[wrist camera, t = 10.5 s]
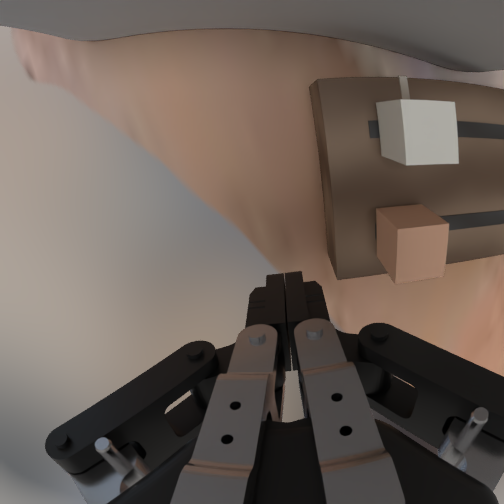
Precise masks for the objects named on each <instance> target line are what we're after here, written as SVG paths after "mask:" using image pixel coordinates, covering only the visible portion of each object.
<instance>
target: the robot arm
mask: <svg viewBox="0 0 504 504" xmlns="http://www.w3.org/2000/svg"><path fill="white" fill-rule="evenodd" d="M285 285H286V288H285ZM290 347H291V352H290ZM291 355H292V364H293V370H298V376H299V388H300V394H301V400H302V406H303V412H304V419H301V420H297V421H293V422H289V423H285V422H282V415H283V405H284V393H285V383H284V382H285V378H286V377H285V371H291ZM393 375H395V376H397V377H399V378H400V379H402V380H404V381H406V382H408V383H410V384H411V385H413V386H414V387H415V388H414V387H412V386H410V385H409V384H407V383H405V382H403V381H401V380H400V379H398V378H396V377H394V376H393ZM189 390H190V392H191V395H190V396H189V397H187V398H186V399H185V400H183V401H182V402H181V403H179V404H178V405H177V406H176V407H174V408H173V409H171V410H170V411H169V412H167V413H166V414H165V410H166V409H167V407H168V406H169V405H170V404H172V403H173V402H174V401H176V400H177V399H178V398H180V397H181V396H182V395H184V394H185V393H187V392H188V391H189ZM371 408H372V409H373V410H375V411H376V412H378V413H380V414H381V415H383V416H384V417H386V418H387V419H389V420H391V421H392V422H394V423H396V424H397V425H399V426H400V427H402V428H404V429H405V430H407V431H409V432H410V433H412V434H414V435H415V436H417V437H419V438H420V439H422V440H424V441H425V442H427V443H429V444H430V445H432V446H434V447H436V448H437V449H438V456H437V455H436V454H434V453H432V452H430V451H429V450H427V449H426V448H425V447H423V446H421V445H420V444H418V443H417V442H415V441H414V440H412V439H411V438H409V437H407V436H406V435H404V434H403V433H402V432H400V431H399V430H397V429H396V428H394V427H393V426H391V425H389V424H387V423H385V422H383V421H380V420H377V419H374V417H373V414H372V411H371ZM45 449H46V452H47V453H48V455H49V456H50V457H51V458H52V459H53V460H54V461H55V462H56V463H57V464H59V465H60V466H61V468H62V469H63V470H64V471H65V472H66V473H67V474H68V475H70V476H71V477H72V479H73V481H74V482H75V484H76V486H77V488H78V489H79V491H80V493H81V494H82V496H83V497H84V499H85V501H86V502H87V504H499V503H498V500H497V498H496V496H495V494H494V493H493V490H494V489H495V487H496V485H497V483H498V482H499V480H500V478H501V476H502V474H503V473H504V377H503V376H501V375H499V374H496V373H494V372H492V371H490V370H487V369H485V368H483V367H481V366H479V365H476V364H474V363H472V362H470V361H468V360H465V359H463V358H461V357H459V356H457V355H454V354H452V353H450V352H448V351H446V350H444V349H441V348H439V347H437V346H435V345H433V344H430V343H428V342H426V341H424V340H422V339H420V338H417V337H415V336H413V335H411V334H409V333H407V332H404V331H402V330H400V329H398V328H396V327H394V326H391V325H389V324H385V323H373V324H369V325H367V326H365V327H363V328H362V329H361V330H360V332H359V334H348V333H343V332H341V331H338V330H337V329H335V327H334V325H333V324H332V323H331V322H330V318H329V314H328V310H327V306H326V302H325V298H324V295H323V290H322V286H320V285H319V284H318V283H317V282H316V281H310V282H303V277H302V271H298V272H289V273H285V280H284V274H283V273H281V274H272V275H267V277H266V287H258V288H255V289H254V290H253V291H252V293H251V294H250V297H249V304H248V312H247V319H246V326H245V329H243V330H242V331H241V332H240V333H239V334H238V337H237V340H236V342H235V343H234V344H232V345H229V346H226V347H223V348H219V349H216V350H215V347H214V345H212V344H211V343H209V342H207V341H195V342H190V343H188V344H186V345H184V346H183V347H181V348H180V349H178V350H177V351H175V352H174V353H172V354H171V355H169V356H168V357H166V358H165V359H163V360H162V361H161V362H159V363H158V364H156V365H155V366H153V367H152V368H150V369H149V370H147V371H146V372H144V373H142V374H141V375H139V376H138V377H136V378H135V379H133V380H132V381H130V382H129V383H127V384H126V385H124V386H123V387H121V388H120V389H118V390H117V391H115V392H113V393H112V394H110V395H109V396H107V397H106V398H104V399H103V400H101V401H99V402H98V403H96V404H95V405H93V406H91V407H90V408H88V409H87V410H85V411H83V412H82V413H80V414H79V415H77V416H75V417H74V418H72V419H70V420H69V421H67V422H66V423H64V424H62V425H61V426H59V427H57V428H56V429H54V430H53V431H52V432H51V433H50V434H49V435H48V437H47V439H46V443H45Z"/></svg>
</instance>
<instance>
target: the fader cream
mask: <svg viewBox="0 0 504 504" xmlns="http://www.w3.org/2000/svg"><path fill="white" fill-rule="evenodd" d="M376 107H377V115H378V123H379V132H380V143H381V155H382V156H383V157H386V158H389V159H391V160H394V161H396V162H399V163H401V164H404V165H406V166H407V165H430V164H459V154H458V133H457V120H456V109H455V102H449V101H433V100H406V99H400V100H391V101H384V102H377V103H376Z"/></svg>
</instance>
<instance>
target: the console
mask: <svg viewBox="0 0 504 504" xmlns="http://www.w3.org/2000/svg"><path fill="white" fill-rule="evenodd" d="M398 77H399V78H397V77H351V78H329V79H317V80H316V81H315V82H314V83H313V84H312V85H311V86H310V87H309V89H310V95H311V102H312V108H313V115H314V122H315V129H316V136H317V144H318V152H319V160H320V169H321V178H322V187H323V197H324V208H325V220H326V233H327V247H328V255H329V258H330V261H331V264H332V266H333V269H334V272H335V275H336V278H337V280H341V279H349V278H357V277H364V276H371V275H379V274H386V273H388V272H387V271H386V269H385V268H384V266H383V265H382V263H381V262H380V260H379V259H378V257H377V225H376V208H385V207H395V206H406V205H417V204H422V205H423V206H425V207H426V208H428V209H429V210H431V211H432V212H434V213H435V214H436V215H438V216H439V217H441V218H442V219H444V220H445V221H446V222H448V223H449V234H448V245H447V255H446V263H445V264H451V263H457V262H463V261H469V260H474V259H480V258H485V257H491V256H496V255H502V254H504V90H503V89H498V88H493V87H487V86H481V85H475V84H468V83H461V82H452V81H443V80H432V79H418V78H407V76H398ZM400 99H406V100H433V101H449V102H455V109H456V120H457V133H458V154H459V164H430V165H407V166H406V165H404V164H401V163H399V162H396V161H394V160H391V159H389V158H386V157H383V156H382V155H381V143H380V132H379V123H378V115H377V107H376V103H377V102H384V101H391V100H400Z"/></svg>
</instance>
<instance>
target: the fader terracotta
mask: <svg viewBox="0 0 504 504" xmlns="http://www.w3.org/2000/svg"><path fill="white" fill-rule="evenodd" d="M376 225H377V257H378V259H379V260H380V262H381V263H382V265H383V266H384V268H385V269H386V271H387V272H388V274H389V276H390V277H391V279H392V280H393V282H394V283H395V284H402V283H408V282H414V281H420V280H426V279H432V278H438V277H444V271H445V263H446V255H447V245H448V234H449V223H448V222H446V221H445V220H444V219H442V218H441V217H439V216H438V215H436V214H435V213H434V212H432V211H431V210H429V209H428V208H426V207H425V206H423V205H422V204H417V205H406V206H395V207H385V208H376Z"/></svg>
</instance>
